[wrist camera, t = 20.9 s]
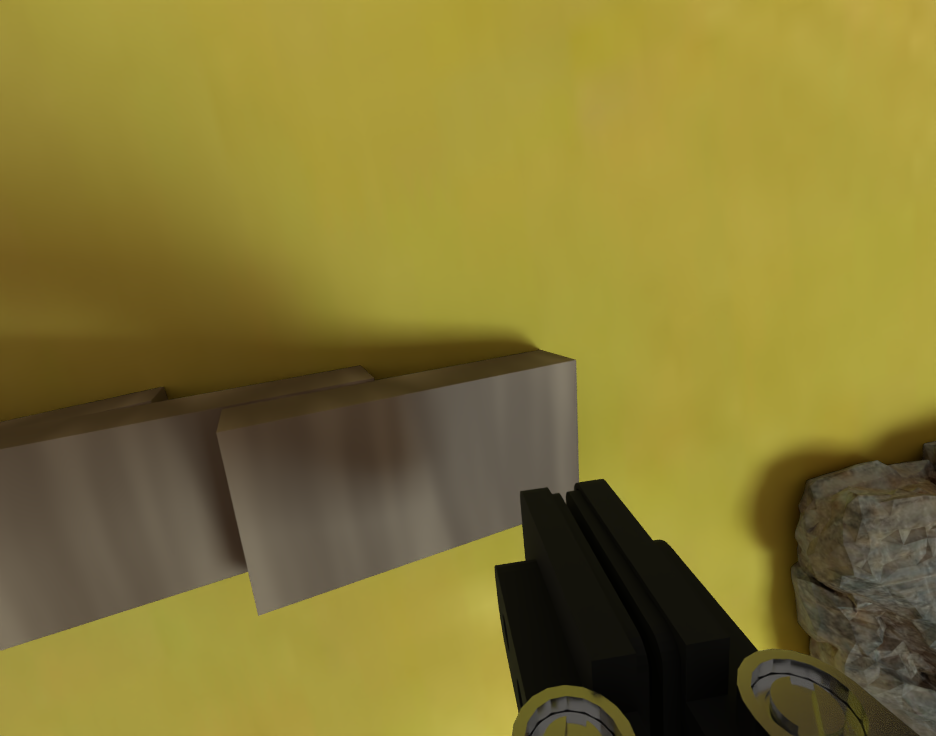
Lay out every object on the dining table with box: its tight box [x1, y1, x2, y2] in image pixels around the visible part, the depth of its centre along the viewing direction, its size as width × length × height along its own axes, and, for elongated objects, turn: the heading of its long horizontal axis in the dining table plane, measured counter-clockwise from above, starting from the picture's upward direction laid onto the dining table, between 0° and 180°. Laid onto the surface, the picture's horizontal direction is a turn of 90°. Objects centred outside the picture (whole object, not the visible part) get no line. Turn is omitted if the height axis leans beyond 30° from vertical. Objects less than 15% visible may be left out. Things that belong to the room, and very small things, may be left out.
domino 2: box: [216, 350, 579, 616], centre depth 14 cm, size 2×5×10 cm
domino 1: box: [0, 366, 374, 650], centre depth 14 cm, size 2×5×10 cm
